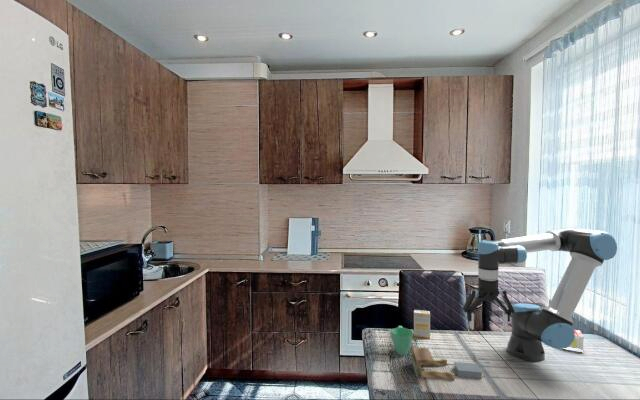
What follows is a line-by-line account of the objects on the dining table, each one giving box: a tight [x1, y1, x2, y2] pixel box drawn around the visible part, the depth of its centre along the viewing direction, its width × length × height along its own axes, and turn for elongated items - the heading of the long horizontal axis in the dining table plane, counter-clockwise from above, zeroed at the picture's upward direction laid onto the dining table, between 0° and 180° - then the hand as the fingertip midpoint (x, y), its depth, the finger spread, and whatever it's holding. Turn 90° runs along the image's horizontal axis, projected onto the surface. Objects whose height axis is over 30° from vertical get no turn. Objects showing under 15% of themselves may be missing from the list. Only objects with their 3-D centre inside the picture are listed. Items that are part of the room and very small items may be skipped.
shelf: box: [411, 347, 455, 382], centre depth 140 cm, size 15×13×7 cm
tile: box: [453, 361, 483, 380], centre depth 139 cm, size 9×7×3 cm
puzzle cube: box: [569, 329, 585, 351], centre depth 161 cm, size 8×8×8 cm
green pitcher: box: [391, 325, 414, 356], centre depth 159 cm, size 15×10×10 cm
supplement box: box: [413, 309, 431, 339], centre depth 174 cm, size 8×5×13 cm, turn 71°
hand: (488, 328), depth 138 cm, fingers open, 13 cm apart
